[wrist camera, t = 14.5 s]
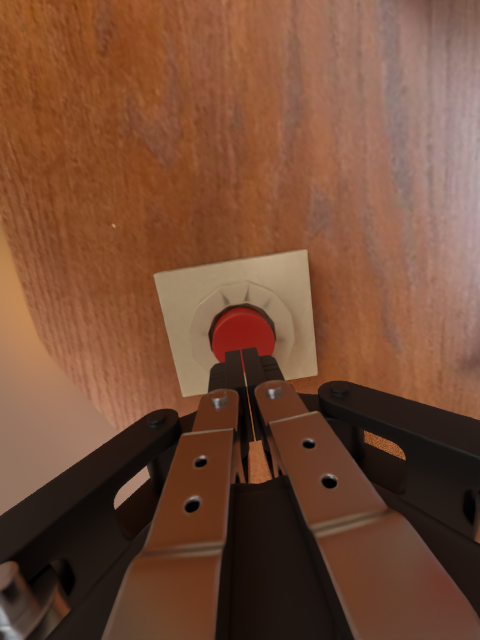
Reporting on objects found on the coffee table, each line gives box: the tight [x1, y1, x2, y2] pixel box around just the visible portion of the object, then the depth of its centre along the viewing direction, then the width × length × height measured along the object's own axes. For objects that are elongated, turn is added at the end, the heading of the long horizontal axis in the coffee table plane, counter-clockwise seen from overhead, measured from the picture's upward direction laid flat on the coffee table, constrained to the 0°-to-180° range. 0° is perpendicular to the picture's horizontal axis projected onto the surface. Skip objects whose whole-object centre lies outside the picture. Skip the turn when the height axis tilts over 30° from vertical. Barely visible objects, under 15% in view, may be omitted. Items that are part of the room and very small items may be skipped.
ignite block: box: [153, 249, 318, 397], centre depth 19 cm, size 10×9×4 cm
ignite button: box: [212, 307, 275, 373], centre depth 16 cm, size 4×4×2 cm
